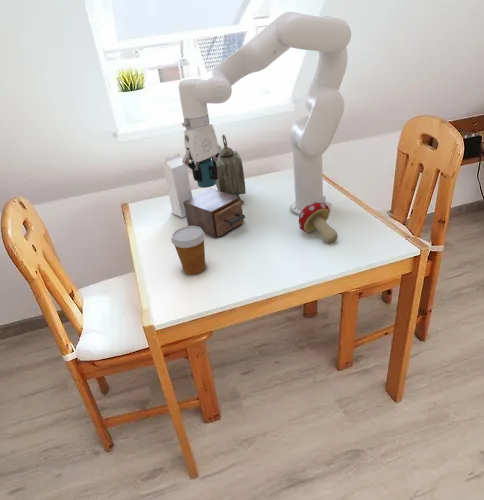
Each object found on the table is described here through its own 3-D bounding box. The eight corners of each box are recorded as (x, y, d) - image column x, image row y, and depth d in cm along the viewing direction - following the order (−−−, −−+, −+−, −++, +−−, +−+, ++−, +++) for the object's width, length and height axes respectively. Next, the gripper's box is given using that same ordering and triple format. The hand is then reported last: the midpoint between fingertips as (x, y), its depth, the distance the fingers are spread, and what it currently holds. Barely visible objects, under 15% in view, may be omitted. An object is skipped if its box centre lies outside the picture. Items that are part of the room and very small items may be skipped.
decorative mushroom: (344, 221, 127) (314, 189, 135) (314, 246, 128) (286, 213, 136) (353, 235, 136) (325, 205, 144) (325, 258, 137) (298, 227, 145)
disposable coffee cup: (197, 281, 124) (189, 244, 117) (171, 273, 128) (163, 237, 122) (217, 263, 130) (211, 228, 124) (192, 257, 135) (185, 222, 129)
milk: (195, 212, 162) (184, 154, 150) (181, 218, 158) (170, 159, 147) (185, 207, 166) (174, 151, 154) (172, 213, 162) (160, 156, 151)
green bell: (247, 205, 162) (239, 139, 148) (223, 210, 160) (213, 143, 147) (239, 190, 174) (231, 128, 161) (217, 195, 172) (207, 132, 159)
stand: (242, 222, 151) (239, 197, 146) (215, 238, 143) (211, 212, 138) (214, 212, 159) (210, 188, 154) (188, 226, 152) (183, 201, 147)
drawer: (252, 225, 147) (249, 204, 143) (227, 239, 140) (224, 218, 136) (218, 212, 157) (214, 192, 153) (193, 225, 150) (189, 205, 146)
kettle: (224, 183, 142) (220, 154, 137) (210, 190, 139) (205, 160, 134) (202, 177, 149) (197, 149, 144) (188, 183, 146) (183, 154, 141)
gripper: (182, 131, 126) (193, 189, 135) (225, 115, 136) (232, 170, 145) (166, 127, 130) (178, 184, 140) (209, 113, 141) (217, 166, 150)
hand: (205, 176), depth 143 cm, fingers closed on kettle, 6 cm apart
